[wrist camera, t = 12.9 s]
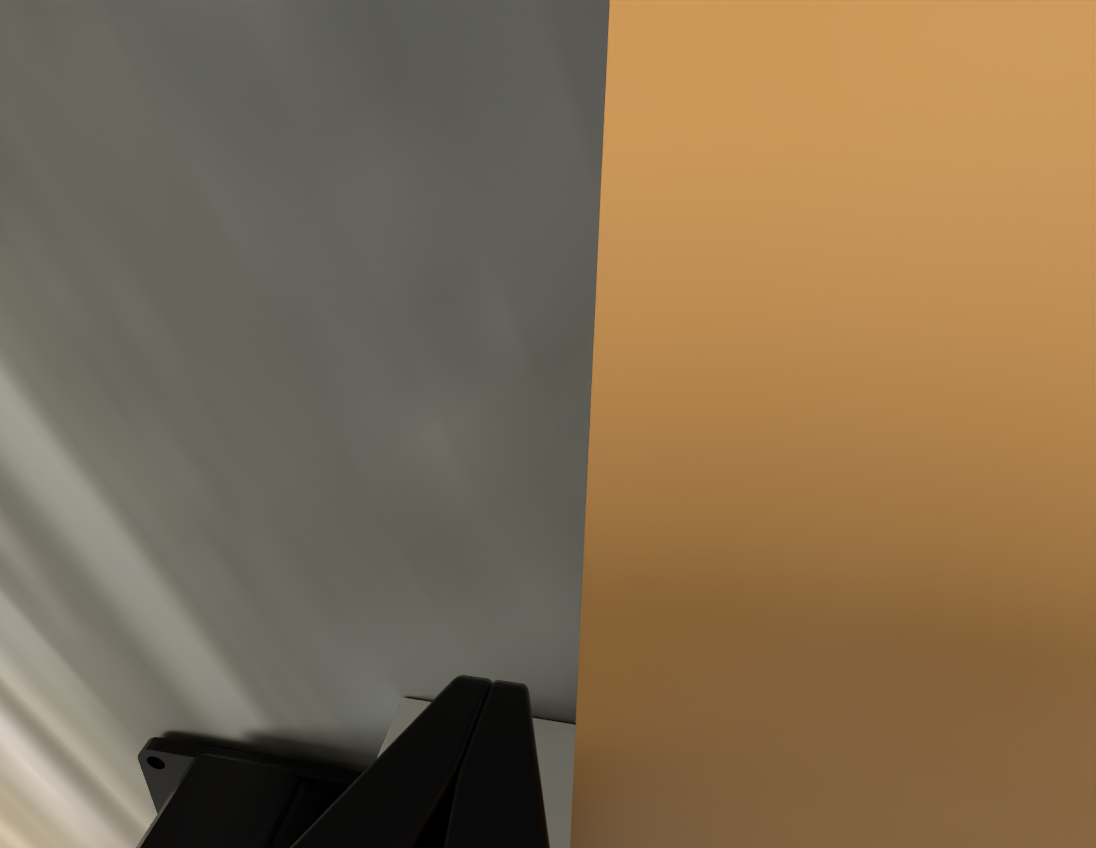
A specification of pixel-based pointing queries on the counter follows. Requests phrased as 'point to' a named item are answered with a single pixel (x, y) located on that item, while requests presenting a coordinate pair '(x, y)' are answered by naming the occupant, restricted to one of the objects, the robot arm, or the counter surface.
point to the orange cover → (842, 429)
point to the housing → (552, 757)
